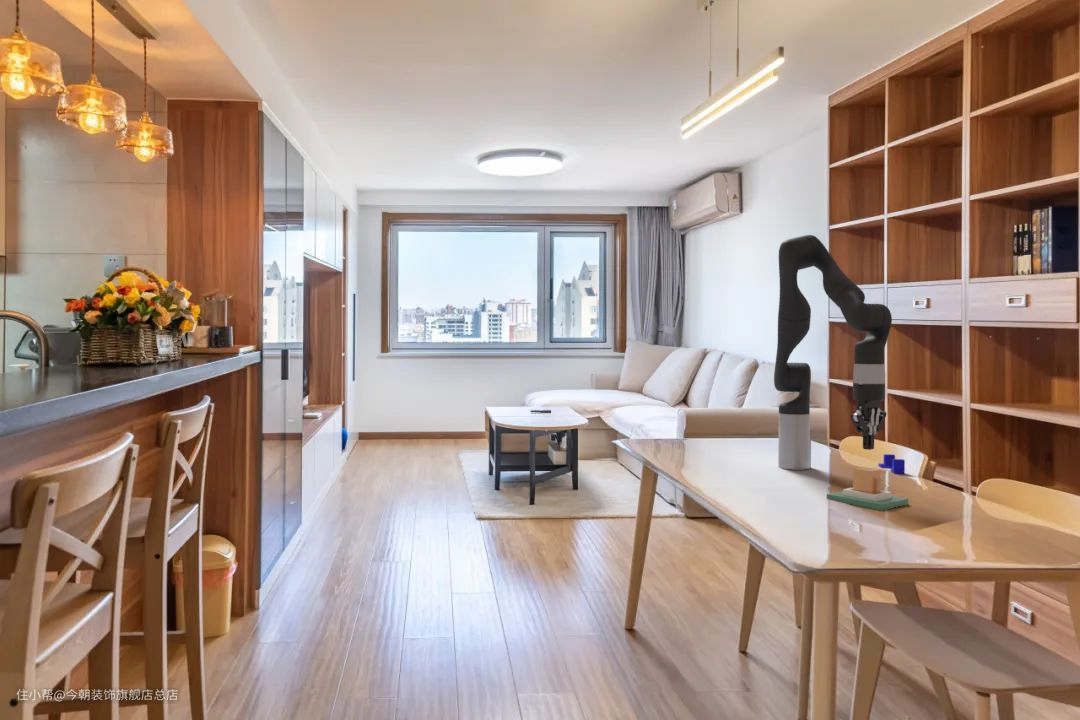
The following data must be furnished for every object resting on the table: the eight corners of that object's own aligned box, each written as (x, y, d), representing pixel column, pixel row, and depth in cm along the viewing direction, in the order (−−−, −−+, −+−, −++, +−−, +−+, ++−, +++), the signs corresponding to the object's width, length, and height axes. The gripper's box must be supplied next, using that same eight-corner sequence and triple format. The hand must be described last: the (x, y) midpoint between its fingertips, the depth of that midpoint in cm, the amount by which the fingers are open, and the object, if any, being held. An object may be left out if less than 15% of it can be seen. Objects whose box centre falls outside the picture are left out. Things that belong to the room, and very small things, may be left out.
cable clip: (878, 472, 230) (878, 454, 230) (893, 473, 229) (893, 454, 229) (888, 479, 218) (888, 459, 218) (904, 479, 218) (904, 460, 218)
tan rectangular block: (861, 494, 187) (862, 467, 187) (883, 497, 182) (883, 470, 182) (853, 495, 184) (853, 468, 184) (874, 499, 180) (874, 471, 180)
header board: (853, 494, 193) (853, 483, 193) (908, 504, 181) (908, 492, 181) (826, 499, 186) (826, 488, 186) (881, 510, 174) (881, 498, 174)
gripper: (869, 380, 190) (869, 445, 190) (840, 381, 182) (839, 449, 183) (897, 381, 184) (896, 448, 184) (868, 383, 176) (867, 453, 177)
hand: (868, 449), depth 183 cm, fingers closed
